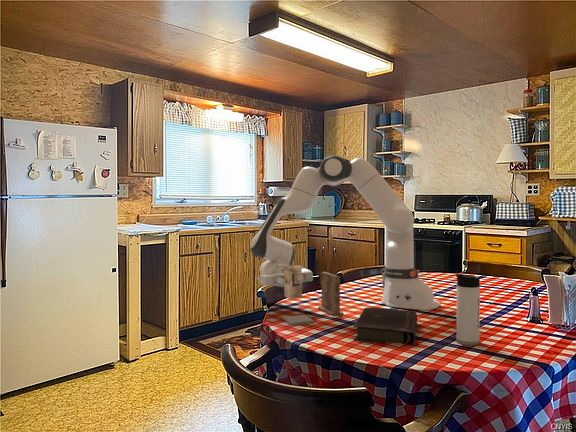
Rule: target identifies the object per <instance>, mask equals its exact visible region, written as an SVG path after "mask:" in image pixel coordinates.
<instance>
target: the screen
mask: <svg viewBox="0 0 576 432" xmlns="http://www.w3.org/2000/svg"><path fill="white" fill-rule="evenodd" d="M320 275H321V276H320V277H321V278H320V279H321V306H318V307H317V309H318V310H321V311H323V312H324V313H325V314H328V315H330V316H331V317H335V316H344V312H343V311H341V289H340V288H341V286H340V283H341V277H340V276H338V275H336V274H333V273H330V272H328V271H321V273H320Z"/></svg>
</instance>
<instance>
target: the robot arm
mask: <svg viewBox="0 0 576 432" xmlns="http://www.w3.org/2000/svg"><path fill="white" fill-rule="evenodd" d="M345 181H346V182H349V183H350V184H351V185H352V186H354V188H355V189H356V190H357V191H358V192H359V195H361V196H362V198H363V199H364V200H365V201H366V202H367V204H368V205H369V206H370V208H371V209H372V210H373V211H374V213H375V214H376V215H377V217H378V218H379V219H380V221H381V222H382V223H383V225H384V226H385V245H384V246H385V252H384V253H385V254H384V255H385V258H384V259H385V262H384V263H385V266H384V267H383V268H384V279H385V286H384V289H383V294H382V297H381V303H383V304H384V305H386V306H387V307H391V308H399V309H411V310H419V311H420V310H422V311H429V310H434V309H437V308H439V307H440V305H441V303H440V301H439V300H436V299H435V298H434V297H435V296H434V291H433V289H432V288H431V287H430V286H429V285H428V284H426V283H425V282H424V281H423V280H422V279H420V278H419V273H420V269H418V270H417V268H415V267H414V266H415V263H414V261H415V260H414V259H415V255H414V251H415V250H414V249H415V248H414V247H415V244H414V224H415V218H414V217H415V216H414V214H413V212H412V211H411V209H410V208H409V207H408V206H407V205H406V203H404V202H403V200H402V199H401V197H400V196H399V195H398V194H397V192H395V190H394V189H393V187H391V185H390V184H389V183H388V182H387V181H386V180H385V178H384V177H383V176H382V175H381V173H379V171H378V170H377V169H376V168H375V167H374V166H373V165H372V164H371V163H370V162H369V161H368V160H366V159H365V158H363V157H356V158H354V159H352V160H351V161H350V160H349V159H347V158H343V157H342V156H339V155H334V154H333V155H328V156H326V157H324V159H323V160H322V161H321V163H320V166H319V167H313V166H305V167H302V168H300V171H299V172H298V174H297V176H296V177H295V179H294V182H292V183H293V184H292V185H291V188H290V190H289V192H288V193H287V194H286V195H285V196H284V197H280V198H279V199H278V200H276V202H275V203H274V205H273V207H272V208H271V209H270V211H269V213H268V214H267V216H266V218H265V219H264V221H263V223H262V224H261V226H260V228H259V229H258V231H257V232H256V233H255V235H254V236H253V238H252V239H251V241H250V244H249V249H250V252H251V254H252V255H253V256H254V257H255V258H258V259H263V260H265V261H263V262H262V263H261V264H260V267H259V273H260V274H259V276H257V277H256V280H258V281H259V282H260V284H261V286H265V287H267V286H276V287H277V288H278V287H279V288H284V284H287V279H286V278H284V267H285V266H299V267H302V265H297V264H294V265H293V263H294V261H295V259H296V250H295V248H294V245H293V244H292V243H291V242H290V241H289V242H288V241H286V240H283V239H280V238H278V237H275V236H273V235H271V234H272V232H273V231H274V228H275V227H276V225H277V224H278V221H279V220H280V218H282V217H283V216H285V215H293V214H294V215H299V214H300V215H301V214H305V213H307V212H309V211H310V210H311V209H312V208H313V207H314V205H315V202H316V200H317V197H318V195H319V191H320V190H321V188H322V187H329V188H335V187H340V186H341V185H342V184H343V183H344V182H345ZM313 274H314V273H313V271H312V270H310V269H308V268H305V267H302V283H305V282H313V279H314V275H313Z"/></svg>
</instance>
